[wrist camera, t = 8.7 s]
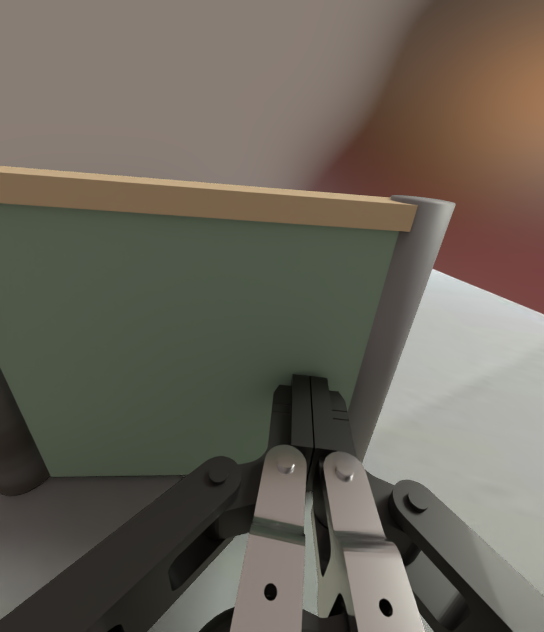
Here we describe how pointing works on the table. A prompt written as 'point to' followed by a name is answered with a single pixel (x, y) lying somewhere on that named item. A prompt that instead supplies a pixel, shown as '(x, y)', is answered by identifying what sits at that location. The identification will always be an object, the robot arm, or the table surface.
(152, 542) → the robot arm
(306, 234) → the panel
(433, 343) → the table surface
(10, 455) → the fence fixed section
